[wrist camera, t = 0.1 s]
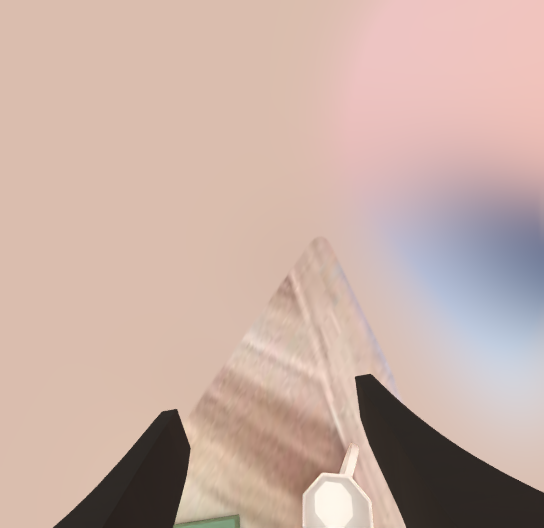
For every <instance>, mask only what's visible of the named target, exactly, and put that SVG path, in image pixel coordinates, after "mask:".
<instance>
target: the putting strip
mask: <svg viewBox="0 0 544 528" xmlns="http://www.w3.org/2000/svg"><path fill="white" fill-rule="evenodd" d="M173 528H240V523H239V515H234V516H228V517H221V518H215V519H208V520H202V521H196V522H189V523H183V524H176V525H174V526H173Z"/></svg>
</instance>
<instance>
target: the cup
mask: <svg viewBox="0 0 544 528" xmlns="http://www.w3.org/2000/svg"><path fill="white" fill-rule="evenodd" d="M358 452H359V447H358V446H357V445H355V444H353V443H351V444H350V446H349V448H348V450H347V453H346V456H345V458H344V461H343V464H342V466H341V469H340V472H339V474H333V473H321V474H320V475H319V476H318V478H317V479H316V480H315V481H314V482H313V483H312V484H311V486H310V487H309V488H308V489H307V490H306V491H305V492H304V494H303V525H302V528H374V527H373V515H372V503H371V500H370V499H369V497H368V496H367V495H366V494H365V493H364V491H363V490H362V489H361V488H360V487H359V486H358V484H357V483H356V482H355V481H354V480H353V478H352V475H353V472H354V469H355V465H356V462H357V458H358Z"/></svg>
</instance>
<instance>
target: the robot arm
mask: <svg viewBox="0 0 544 528" xmlns="http://www.w3.org/2000/svg"><path fill="white" fill-rule="evenodd" d="M355 381H356V388H357V396H358V403H359V410H360V418H361V421H362V424H363V427H364V430H365V433H366V436H367V439H368V442H369V445H370V447H371V449H372V451H373V454H374V456H375V458H376V460H377V462H378V465H379V467H380V469H381V471H382V473H383V476H384V478H385V480H386V482H387V484H388V486H389V489H390V491H391V493H392V495H393V497H394V499H395V502H396V504H397V506H398V508H399V511H400V513H401V515H402V518H403V520H404V523H405V525H406V528H544V493H543V492H541V491H539V490H536V489H535V488H533V487H531V486H529V485H527V484H525V483H523V482H521V481H519V480H517V479H515V478H513V477H511V476H509V475H507V474H505V473H503V472H501V471H499V470H498V469H496V468H494V467H493V466H491V465H489V464H487V463H485V462H484V461H482V460H480V459H479V458H477V457H475V456H473V455H472V454H470V453H468V452H467V451H465V450H464V449H462V448H460V447H459V446H457V445H456V444H455V443H453V442H451V441H450V440H449V439H447V438H446V437H444V436H443V435H441V434H440V433H439V432H437V431H436V430H435V429H433V428H432V427H431V426H429V425H428V424H427V423H425V422H424V421H423V420H421V419H420V418H419V417H418V416H416V415H415V414H414V413H413V412H412V411H410V410H409V409H408V408H407V407H406V406H405V405H404V404H402V403H401V402H400V401H399V400H398V399H397V398H396V397H394V396H393V395H392V394H391V393H390V392H389V391H388V390H387V389H386V388H385V387H384V386H383V385H382V384H381V383H380V382H379V381H378V380H377V379H376V378H375V377H374V376H373V375H371V374H367V375H361V376H356V377H355ZM190 449H191V448H190V445H189V442H188V439H187V437H186V434H185V431H184V428H183V425H182V422H181V419H180V416H179V414H178V411H177V409H174V410H168V411H163V412H161V414H160V415H159V416H158V417H157V418H156V419H155V420H154V421H153V423H152V424H151V425H150V426H149V428H148V429H147V430H146V431H145V432H144V433H143V435H142V436H141V437H140V438H139V439H138V441H137V442H136V443H135V444H134V445H133V447H132V448H131V449H130V450H129V451H128V453H127V454H126V455H125V456H124V457H123V458H122V460H120V462H119V463H118V464H117V465H116V466H115V467H114V468H113V469H112V470H111V472H110V473H109V474H108V475H107V476H106V477H105V478H104V479H103V480H102V481H101V483H100V484H99V485H98V486H97V487H96V488H95V489H94V490H93V491H92V492H91V493H90V494H89V495H88V496H87V497H86V498H85V499H84V500H83V501H82V502H81V503H79V504H78V506H76V507H75V508H74V509H73V510H72V511H71V512H70V513H69V514H68V515H67V516H66V517H65V518H63V519H62V520H61V521H60V522H59V523H58V524H57V525H55V526H54V527H53V528H173V526H174V522H175V518H176V515H177V511H178V507H179V504H180V500H181V496H182V492H183V488H184V484H185V480H186V476H187V470H188V464H189V456H190Z"/></svg>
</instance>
